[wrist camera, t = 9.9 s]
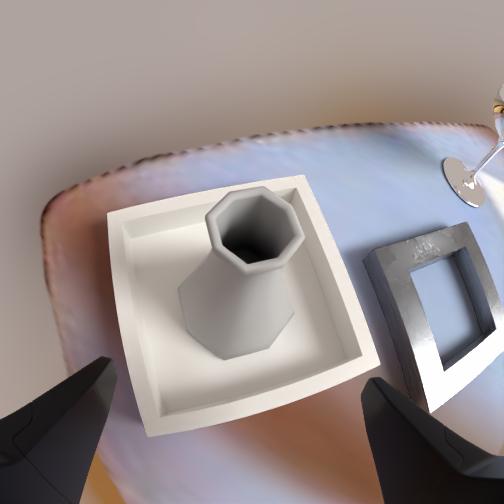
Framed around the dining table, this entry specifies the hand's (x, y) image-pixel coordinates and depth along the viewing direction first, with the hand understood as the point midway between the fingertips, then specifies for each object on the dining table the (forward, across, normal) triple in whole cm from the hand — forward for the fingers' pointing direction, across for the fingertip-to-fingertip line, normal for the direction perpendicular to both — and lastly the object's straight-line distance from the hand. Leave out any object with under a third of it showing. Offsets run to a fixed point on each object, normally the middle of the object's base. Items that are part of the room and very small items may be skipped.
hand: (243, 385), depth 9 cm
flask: (+10, 0, +2) cm, 10 cm away
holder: (+10, -18, +2) cm, 21 cm away
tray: (+10, 0, +3) cm, 10 cm away
